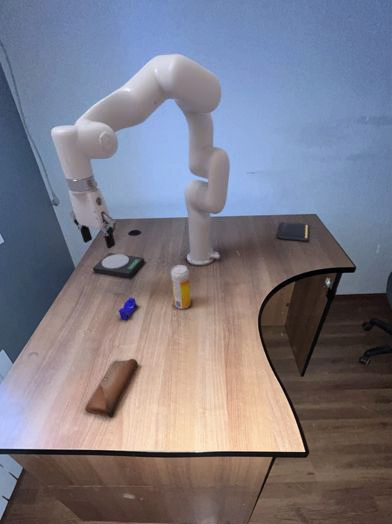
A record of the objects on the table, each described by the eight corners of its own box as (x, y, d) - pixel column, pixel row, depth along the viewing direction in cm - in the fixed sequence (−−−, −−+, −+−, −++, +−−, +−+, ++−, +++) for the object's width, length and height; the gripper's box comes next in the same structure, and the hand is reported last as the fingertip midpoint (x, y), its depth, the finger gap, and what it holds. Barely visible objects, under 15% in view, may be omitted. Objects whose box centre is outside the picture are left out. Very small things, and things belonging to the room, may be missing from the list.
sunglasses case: (112, 360, 81) (118, 349, 76) (133, 370, 83) (140, 360, 78) (82, 411, 69) (87, 402, 65) (107, 422, 71) (113, 414, 66)
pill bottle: (192, 301, 101) (190, 265, 90) (187, 311, 97) (184, 275, 86) (178, 298, 103) (174, 263, 92) (172, 308, 99) (167, 272, 88)
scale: (144, 262, 122) (143, 256, 120) (130, 278, 113) (128, 272, 111) (110, 257, 127) (108, 251, 124) (94, 272, 118) (92, 266, 115)
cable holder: (128, 305, 101) (126, 296, 98) (136, 307, 100) (134, 298, 97) (117, 318, 96) (115, 309, 93) (126, 320, 95) (123, 311, 92)
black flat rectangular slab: (281, 219, 146) (310, 222, 142) (280, 223, 147) (309, 226, 143) (277, 235, 133) (308, 238, 129) (276, 238, 134) (307, 242, 131)
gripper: (115, 183, 73) (128, 244, 85) (69, 177, 79) (87, 234, 91) (96, 191, 68) (113, 254, 81) (49, 184, 74) (71, 243, 87)
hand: (99, 243), depth 86 cm, fingers open, 9 cm apart
